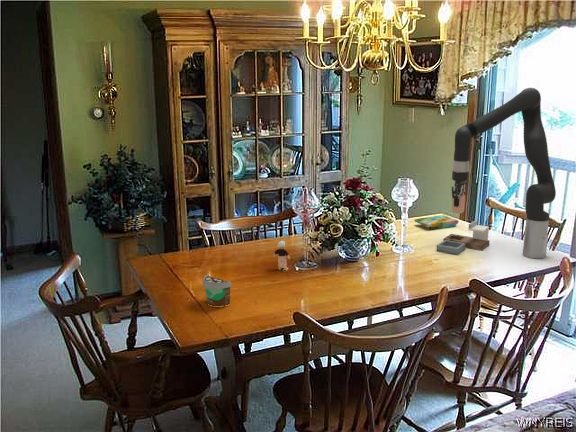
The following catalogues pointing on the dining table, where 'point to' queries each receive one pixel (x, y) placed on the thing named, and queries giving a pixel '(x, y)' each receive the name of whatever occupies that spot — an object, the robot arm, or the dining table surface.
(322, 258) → the dining table surface
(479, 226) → the light grey blocky form
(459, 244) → the tray
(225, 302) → the food container
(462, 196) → the block
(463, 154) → the robot arm
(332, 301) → the dining table surface
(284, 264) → the grandmother figurine
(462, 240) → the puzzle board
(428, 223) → the puzzle game
